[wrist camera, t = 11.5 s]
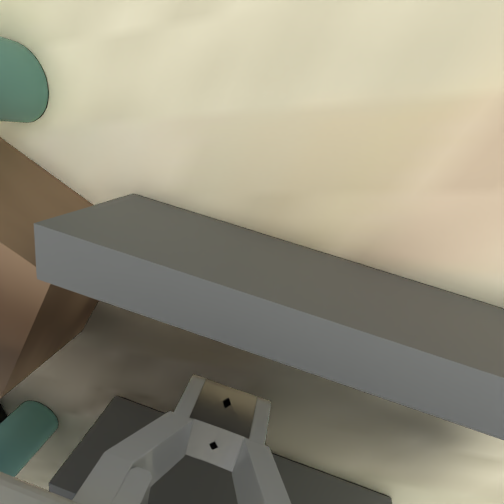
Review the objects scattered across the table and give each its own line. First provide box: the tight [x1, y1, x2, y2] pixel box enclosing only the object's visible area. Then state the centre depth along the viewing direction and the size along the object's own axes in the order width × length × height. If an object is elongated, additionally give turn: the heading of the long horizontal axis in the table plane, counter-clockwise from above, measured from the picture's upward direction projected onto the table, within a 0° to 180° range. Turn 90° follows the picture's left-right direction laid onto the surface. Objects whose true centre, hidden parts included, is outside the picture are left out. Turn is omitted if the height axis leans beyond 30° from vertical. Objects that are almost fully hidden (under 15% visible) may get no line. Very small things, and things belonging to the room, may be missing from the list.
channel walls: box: [34, 194, 504, 504], centre depth 10 cm, size 12×14×4 cm
